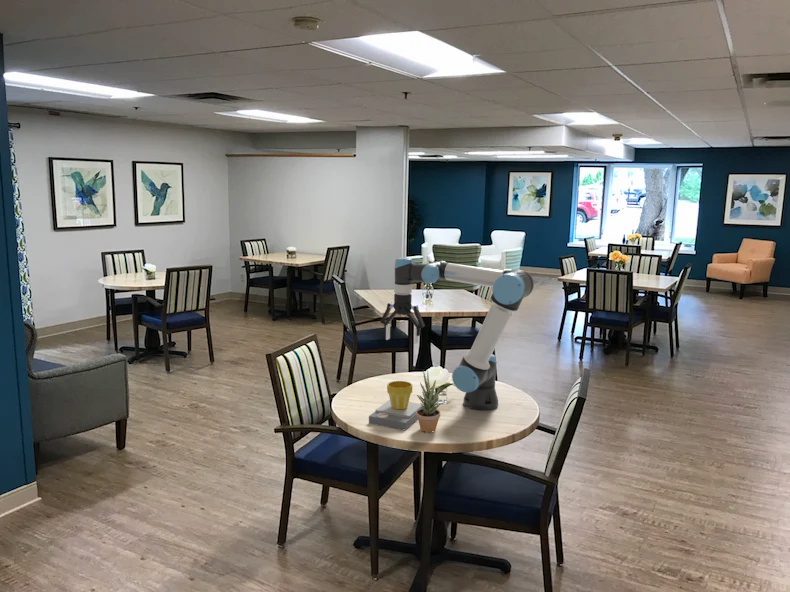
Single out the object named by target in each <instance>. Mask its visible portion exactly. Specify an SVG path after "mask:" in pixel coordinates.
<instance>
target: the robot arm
mask: <svg viewBox="0 0 790 592" xmlns="http://www.w3.org/2000/svg"><path fill="white" fill-rule="evenodd" d="M438 280H445V281H450V282H451V281H452V282H458V283H462V284H470V285H475V286H482V287H488V288H492V293H491V296H490V301H491V305H490V307H489V310H488V312H487V313H486V316H485V317H484V321H483V322H482V325H481V326H480V329H479V331H478V333H477V335H476V337H475V339H474V341H473V344H472V346H471V348H470V350H469V352H467V353H464V355H463V357H462V359H461V361H460V363H459V365H458V366H456V367H455V368H454V369H453V372H451V373H452V374H451V380H452V382H453V384H454V386H455V387H456V389H458V391H460V392H463V393H465V394H464V396H463V405H464V406H465V407H467V408H469V409H472V410H479V411H488V410H489V411H490V410H493V409H496V408H497V406H499V399H498V393H497V391H496V376H497V375H496V374H497V356H496V355H495V354H493V353H494V351H495V350H496V349H495V348H496V346H497V344H498V342H499V340H500V339H501V335H502V334H503V331H504V330H505V329H506V328H505V327H506V326H507V324H508V322H509V320H510V317H511V315H512V314H513V313H514V312H517V311H518V310H519V308H520V306H521V305H522V302H523V299H525V298H527V297H528V296H530V294H531V293H533V290H534V287H535V281H534V278H533V276H532V274H530V273H529V272H528V271H526V270H523V269H511V268H505V269H503V270H500V269H496V268H495V269H493V268H488V267H480V266H472V265H465V264H459V263H450V262H446V261H445V260H436V261H435V260H434V261H433V262H429V263H414V262H413V259H412V257H397V258H396V259H395V261H394V289H393V290H394V291H393V292H394V293H393V294H394V295H393V299H394V300H393V303H392V302H388V303H386V305H387V306H386V309H385V310H384V314H383V315H382V317H381V318H380V324H383V325H384V328H383V330H384V332H385V340H386V341H388V340H391V324H390V323H391V322H392V320H394V318H395V317H396V316H397V315H402V316H407V317H408V318H409V319H410V321H411V323H412V324H413V325H414V327H415V328H414V338H413V339H414V341H413V342H414V344H418V343H419V336H421V330H422V329H423V328H424V327H425V326H426V325H425V322H424V320H423V318H422V315H421V312H420V310H419V305H412V291H413V289H412V286H413V283H412V282H420V283H426V284H434V283H436V282H438ZM392 309H394V310H393V312H392V313H391V314H390V312H391V310H392ZM413 312H414V315H413ZM389 314H390V316H389ZM388 316H389V317H388Z"/></svg>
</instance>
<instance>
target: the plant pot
mask: <svg viewBox="0 0 790 592" xmlns="http://www.w3.org/2000/svg"><path fill="white" fill-rule="evenodd" d="M386 387H387V388H386V389H387V391H386V392H387V394H388V396H389V397H388V398H389V400H390V402H391V406H392V408H394V409H398V410H402V409H406V408H407V407H408V403H409V402H410V398H411V394H412V393H413V383H411V382H409V381H406V380H405V381H404V380H394V381H389V382H388V383H387V384H386Z"/></svg>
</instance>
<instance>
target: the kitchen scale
mask: <svg viewBox="0 0 790 592" xmlns="http://www.w3.org/2000/svg"><path fill="white" fill-rule="evenodd" d="M421 404H422V403H421ZM421 404H420V403H418V402H411V401H409V403H408V407H407V408H406V409H402V410H398V409H394V408H392V406H391V402H390V399H389V400H387V401H386V402H384V403H383V404H381V405H380V406H379V407H377V408H376V409H375V411H373V412H372V413H371V414H369V415H368V424H370V425H371V424H372V425H376V424H377V426H381V425H383V426H382V427H387V426H388V427H387V428H392V427H394V428H393V429H397V428H400V429H399V430H402V429H405V430H404V431H406V430H408V428H409V426H410V425H411V424H412V425H414V423H416V421H418V420H417V419H418V418H417V416H416V411H417V410H419V409H422V408H424V407H423V406H424V405H423V406H422V405H421ZM412 425H411V426H412ZM411 426H410V427H411Z"/></svg>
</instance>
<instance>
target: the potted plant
mask: <svg viewBox="0 0 790 592" xmlns="http://www.w3.org/2000/svg"><path fill="white" fill-rule="evenodd" d="M422 373H423V381H424V385H425V387H424V385H423V384H422V383H421V382H420V381H419V383H420V387H421V389H422V391H421V393H422V396H423V397H422V396H421V395H418V394H416V396H417V398H418V399H419V401H420V403H419V404H421V405H422V406H423V407H424V408H422V409H419V410H417V411H416V416H417V418H418V420H417V421H418V424H419V430H420V431H421V430H422V431H425V432H424V433H426V432H431V433H433V432H432V431H434V432H436V429H437V426H438V423H439V419H440V417H441V411H440V410H439V409H438V408H439V407H440V406H441V404H442V403H439V401H438V400H439V399H440V397H439V392H440V390H441V389H440V387H439V388H438V390H437V391H436V392H435V389H436V388H435V387H436V382H437V380H436V379H434V381H433V384H432V387H431V385H430V379H429V378H430V377H429V370H427V376H426V375H425V370H422ZM426 377H427V378H426ZM434 392H435V393H434ZM438 403H439V404H438ZM422 431H421V432H422Z"/></svg>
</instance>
